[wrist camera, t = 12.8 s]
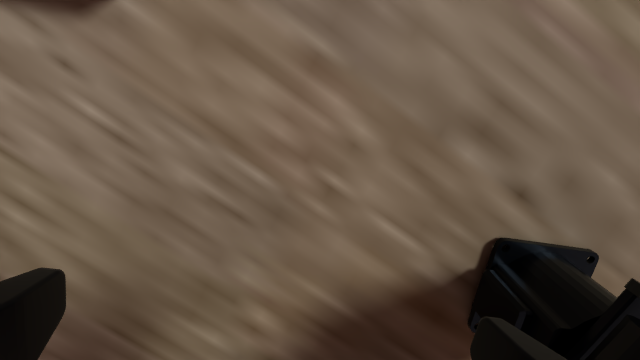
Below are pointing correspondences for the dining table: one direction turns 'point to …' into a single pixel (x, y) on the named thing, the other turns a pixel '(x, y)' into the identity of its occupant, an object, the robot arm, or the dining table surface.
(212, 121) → the dining table surface
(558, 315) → the robot arm
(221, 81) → the dining table surface
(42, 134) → the dining table surface
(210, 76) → the dining table surface
